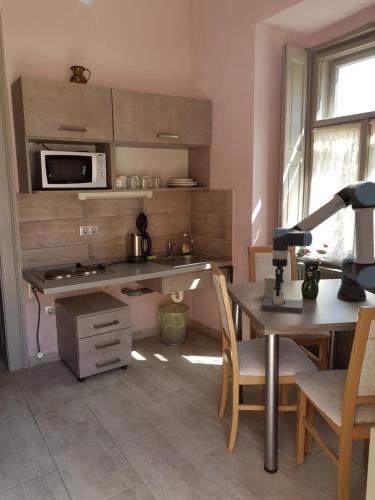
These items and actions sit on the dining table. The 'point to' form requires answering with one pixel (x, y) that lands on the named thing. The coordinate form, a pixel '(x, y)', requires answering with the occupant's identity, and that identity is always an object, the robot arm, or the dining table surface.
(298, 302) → the socket
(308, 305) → the dining table surface
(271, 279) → the can
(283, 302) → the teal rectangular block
